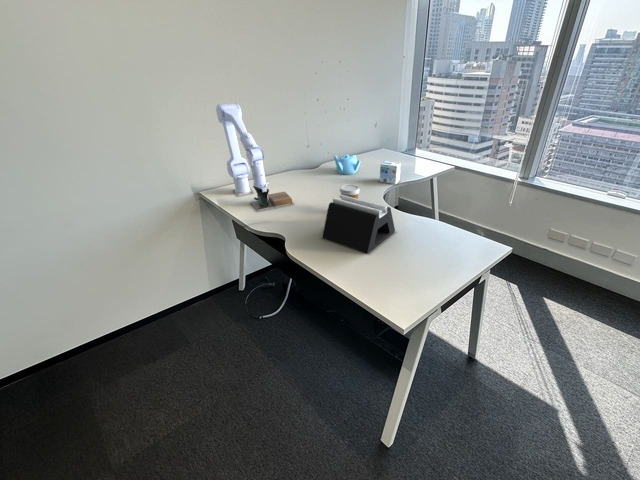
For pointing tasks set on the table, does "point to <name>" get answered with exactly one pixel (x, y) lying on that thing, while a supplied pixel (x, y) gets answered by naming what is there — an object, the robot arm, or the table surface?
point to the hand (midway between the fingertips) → (263, 201)
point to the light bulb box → (389, 172)
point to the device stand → (358, 223)
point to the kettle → (260, 200)
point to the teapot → (347, 164)
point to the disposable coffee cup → (350, 191)
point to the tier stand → (274, 200)
